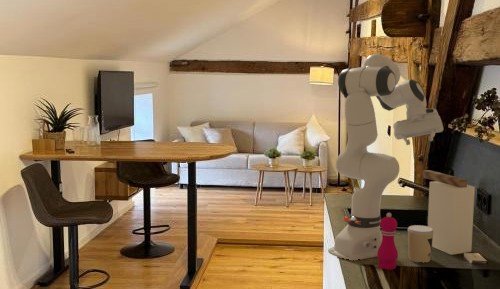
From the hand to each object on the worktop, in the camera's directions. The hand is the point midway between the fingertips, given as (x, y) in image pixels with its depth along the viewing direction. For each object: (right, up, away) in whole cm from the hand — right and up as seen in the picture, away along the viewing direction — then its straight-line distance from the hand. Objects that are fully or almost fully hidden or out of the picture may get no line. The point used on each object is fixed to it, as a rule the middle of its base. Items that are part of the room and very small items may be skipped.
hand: (419, 142), depth 231 cm
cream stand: (+9, -43, -10) cm, 45 cm away
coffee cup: (-7, -45, -24) cm, 51 cm away
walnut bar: (+7, -16, -10) cm, 20 cm away
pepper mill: (-21, -46, -32) cm, 59 cm away
